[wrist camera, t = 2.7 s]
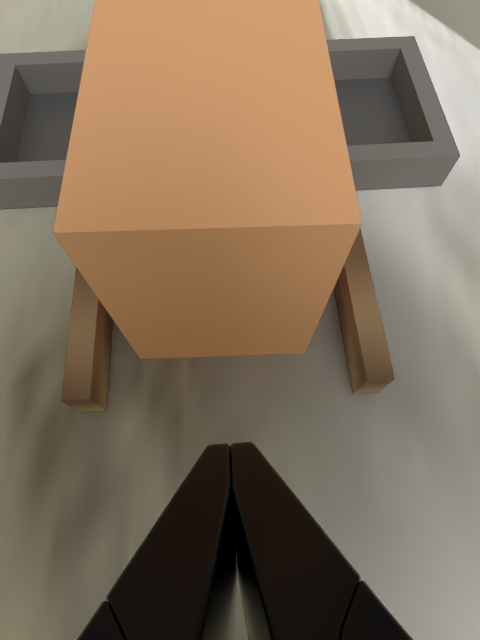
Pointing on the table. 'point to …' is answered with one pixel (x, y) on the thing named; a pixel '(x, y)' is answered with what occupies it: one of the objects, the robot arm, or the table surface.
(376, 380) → the small wooden bench
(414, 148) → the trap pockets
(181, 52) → the orange tan rectangular block
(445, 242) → the table surface
